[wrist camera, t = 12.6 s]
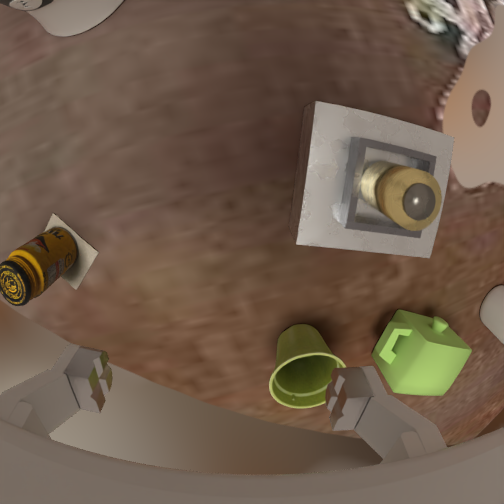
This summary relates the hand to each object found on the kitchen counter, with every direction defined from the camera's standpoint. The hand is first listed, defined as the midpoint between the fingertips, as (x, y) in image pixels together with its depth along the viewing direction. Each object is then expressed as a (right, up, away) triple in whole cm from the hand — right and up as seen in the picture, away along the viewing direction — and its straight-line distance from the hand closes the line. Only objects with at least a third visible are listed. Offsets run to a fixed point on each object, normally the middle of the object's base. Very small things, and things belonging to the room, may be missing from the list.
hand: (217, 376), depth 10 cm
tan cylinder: (+14, +11, +19) cm, 26 cm away
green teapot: (+27, -8, +33) cm, 43 cm away
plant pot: (+8, -8, +32) cm, 34 cm away
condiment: (-24, +4, +27) cm, 36 cm away
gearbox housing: (+14, +13, +24) cm, 31 cm away
